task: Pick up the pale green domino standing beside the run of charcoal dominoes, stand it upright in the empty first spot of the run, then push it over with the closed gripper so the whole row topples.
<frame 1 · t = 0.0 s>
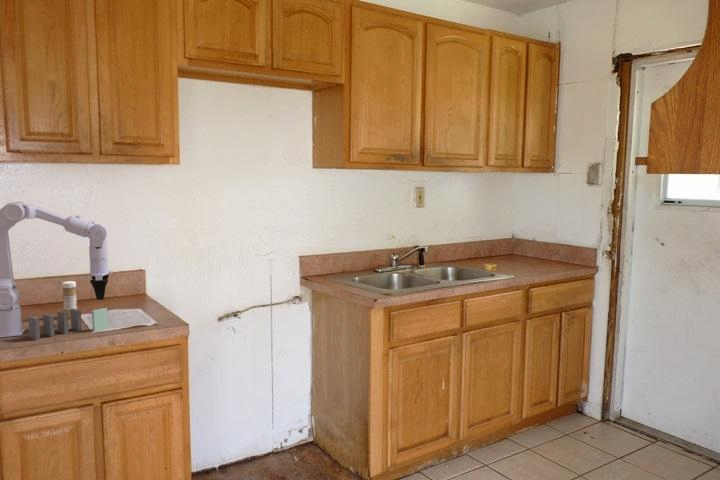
hand: (100, 297, 196), 10 cm above the table, tool pointing down, fingers open, 7 cm apart
green domino: (100, 329, 192), on the table
sprinkles bottle: (70, 317, 209), on the table
domino 4: (49, 335, 184), on the table
domino 5: (34, 338, 181), on the table
domino 3: (63, 332, 188), on the table
domino 2: (76, 329, 191), on the table
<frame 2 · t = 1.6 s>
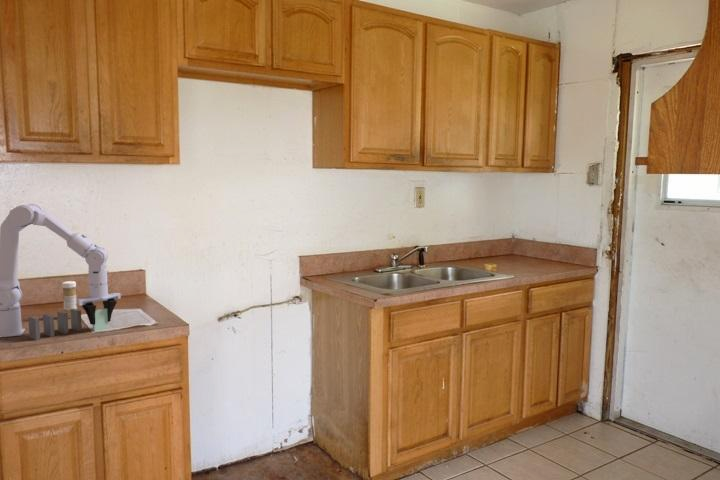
hand: (100, 322, 191), 2 cm above the table, tool pointing down, fingers closed on green domino, 5 cm apart
green domino: (100, 329, 192), on the table, touching gripper
everything else where it was.
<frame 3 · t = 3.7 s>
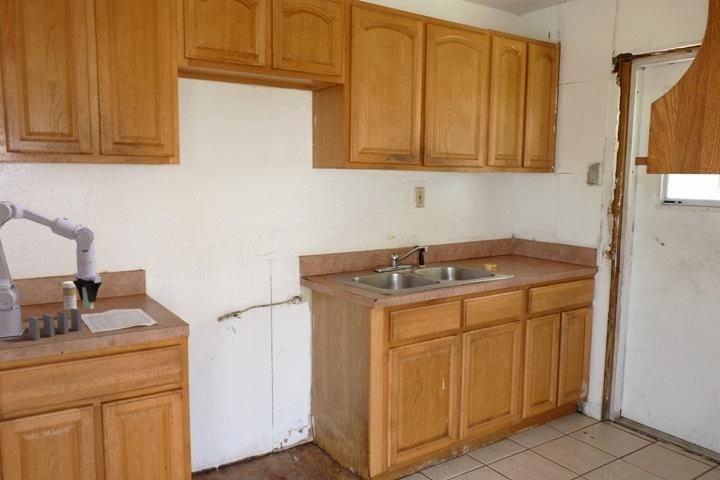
hand: (88, 300, 194), 9 cm above the table, tool pointing down, fingers closed on green domino, 5 cm apart
green domino: (88, 307, 194), point 7 cm above the table, touching gripper
everything else where it was.
when the fingers open (3 cm above the table, at t = 5.6 s): green domino stays where it is, on the table.
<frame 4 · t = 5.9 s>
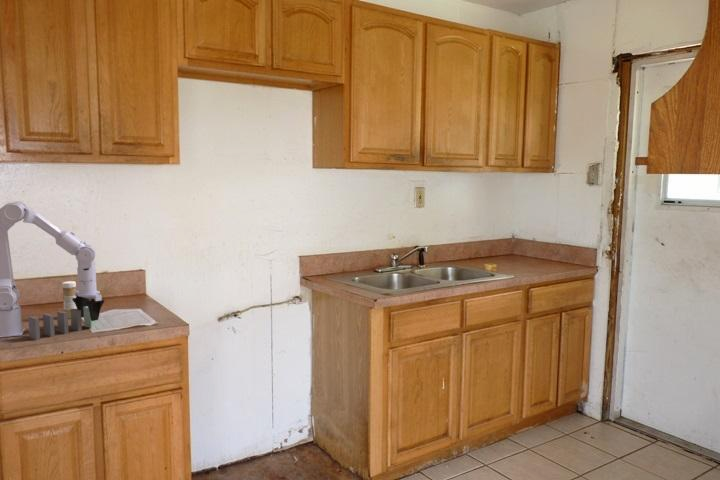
hand: (89, 318, 195), 3 cm above the table, tool pointing down, fingers open, 7 cm apart
green domino: (89, 326, 195), on the table
everything else where it was.
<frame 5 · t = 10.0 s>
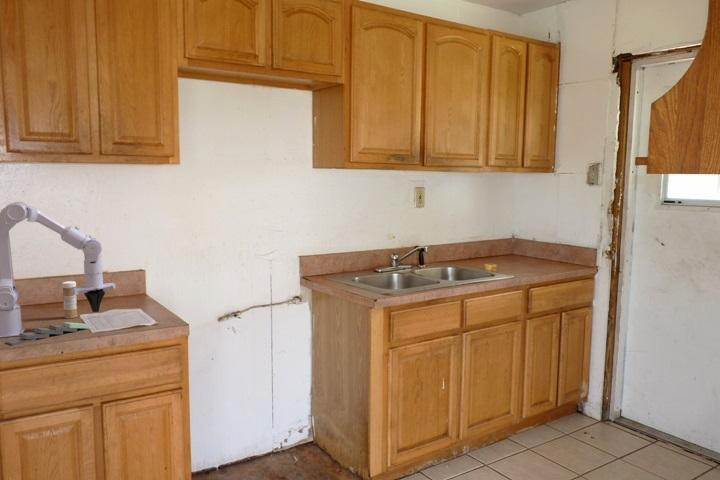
hand: (95, 311, 196), 5 cm above the table, tool pointing down, fingers closed
green domino: (86, 325, 194), point 1 cm above the table, tilted 75°
domino 4: (45, 334, 183), point 1 cm above the table, tilted 81°, touching domino 3, domino 5
domino 5: (32, 339, 180), on the table, tilted 90°, touching domino 4
domino 3: (59, 331, 187), point 1 cm above the table, tilted 75°, touching domino 2, domino 4
domino 2: (73, 328, 190), point 1 cm above the table, tilted 75°, touching domino 3
everything else where it was.
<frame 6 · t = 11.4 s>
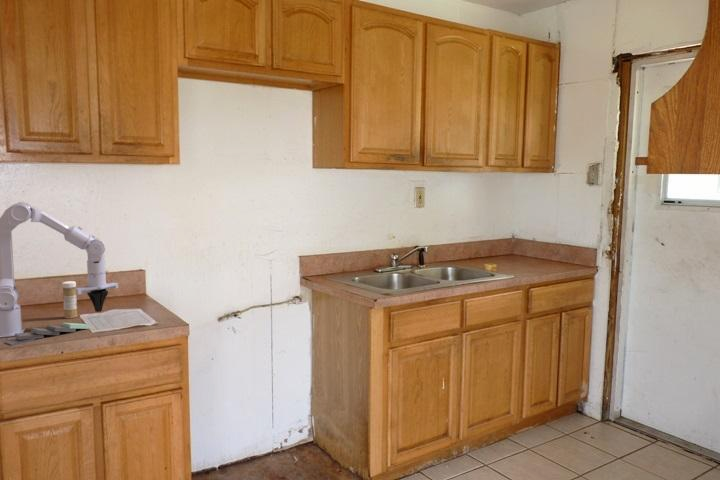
hand: (98, 311, 197), 5 cm above the table, tool pointing down, fingers closed
green domino: (85, 326, 194), point 1 cm above the table, tilted 76°, touching domino 2
domino 4: (41, 334, 183), point 1 cm above the table, tilted 84°, touching domino 3, domino 5
domino 3: (56, 332, 186), point 1 cm above the table, tilted 74°, touching domino 2, domino 4
domino 2: (71, 329, 190), point 1 cm above the table, tilted 75°, touching domino 3, green domino
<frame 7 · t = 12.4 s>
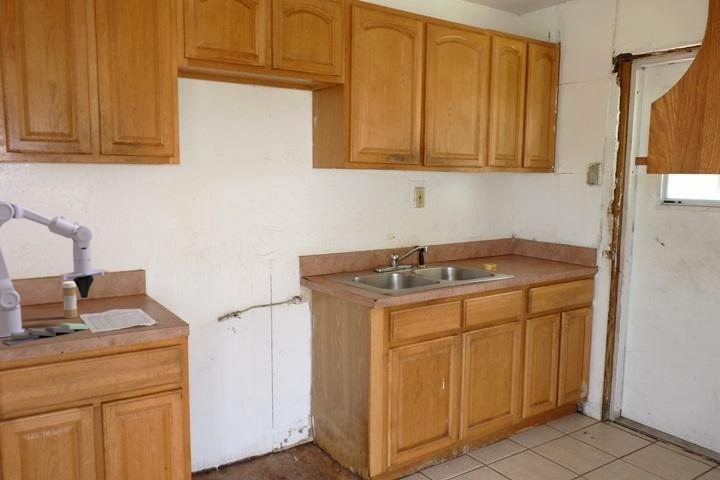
hand: (84, 297, 199), 9 cm above the table, tool pointing down, fingers closed
domino 4: (37, 335, 182), point 1 cm above the table, tilted 81°, touching domino 5
domino 3: (53, 333, 185), point 1 cm above the table, tilted 74°
domino 2: (69, 329, 189), on the table, tilted 75°, touching green domino
everything else where it was.
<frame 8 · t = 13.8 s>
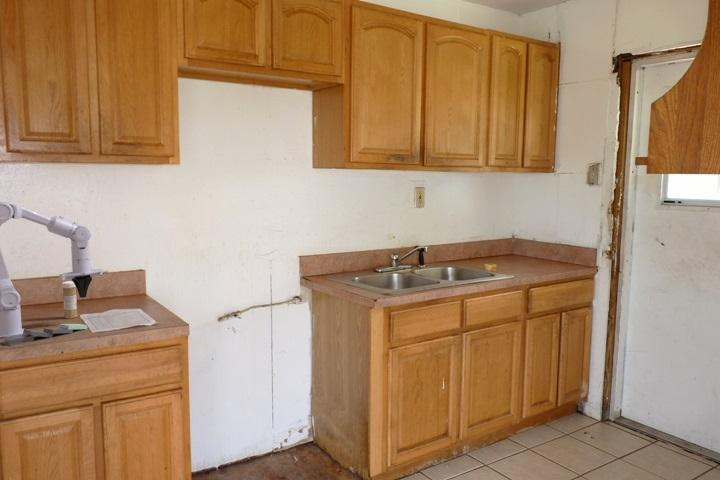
hand: (82, 297, 200), 9 cm above the table, tool pointing down, fingers closed
domino 4: (31, 336, 180), point 1 cm above the table, tilted 90°, touching domino 3, domino 5
domino 3: (48, 334, 183), on the table, tilted 70°, touching domino 4
at the end: domino 5 tilted 90°; green domino tilted 78°; the gripper is holding nothing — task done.
